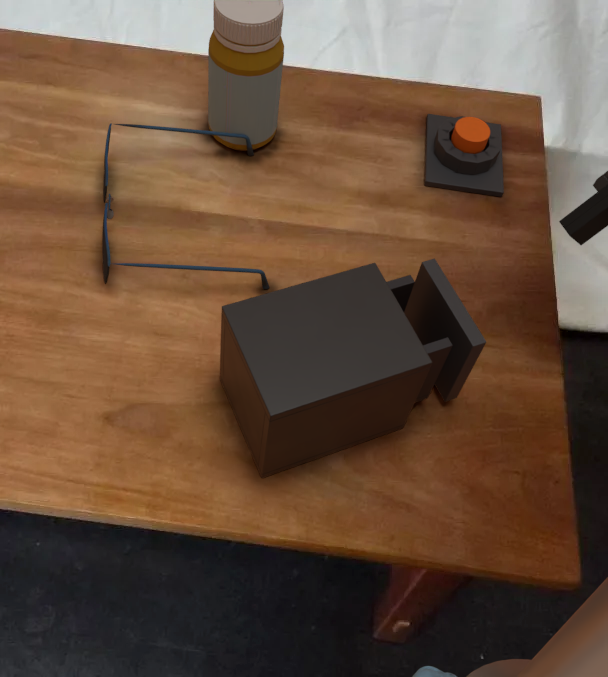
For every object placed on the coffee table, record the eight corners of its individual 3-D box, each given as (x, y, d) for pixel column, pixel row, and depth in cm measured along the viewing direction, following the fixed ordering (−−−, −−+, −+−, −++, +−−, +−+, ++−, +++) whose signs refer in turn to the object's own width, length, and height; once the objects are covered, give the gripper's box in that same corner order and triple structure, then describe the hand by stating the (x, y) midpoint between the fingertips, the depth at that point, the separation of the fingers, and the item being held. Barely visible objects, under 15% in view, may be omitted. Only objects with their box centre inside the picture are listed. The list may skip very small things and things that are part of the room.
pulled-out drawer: (423, 316, 73) (447, 254, 66) (469, 393, 69) (500, 337, 62) (292, 356, 70) (302, 296, 62) (332, 441, 66) (348, 387, 58)
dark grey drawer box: (354, 336, 72) (375, 261, 64) (403, 428, 68) (433, 362, 59) (219, 378, 69) (221, 305, 60) (261, 478, 64) (270, 416, 55)
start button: (485, 156, 83) (490, 144, 82) (450, 151, 83) (455, 138, 82) (485, 132, 85) (490, 119, 84) (451, 127, 85) (455, 114, 84)
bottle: (260, 162, 83) (270, 36, 70) (197, 140, 83) (195, 11, 71) (286, 119, 86) (300, -8, 74) (225, 98, 87) (228, -32, 75)
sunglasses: (103, 154, 81) (105, 116, 77) (250, 166, 85) (259, 130, 81) (101, 297, 72) (102, 261, 68) (265, 303, 76) (276, 270, 72)
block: (502, 197, 83) (509, 180, 81) (424, 185, 83) (429, 168, 81) (499, 129, 89) (506, 111, 87) (426, 118, 89) (431, 99, 87)
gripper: (952, 92, 53) (633, 310, 62) (813, -28, 59) (541, 187, 68) (958, 38, 47) (604, 289, 56) (804, -90, 53) (507, 156, 62)
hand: (570, 233), depth 62 cm, fingers closed
